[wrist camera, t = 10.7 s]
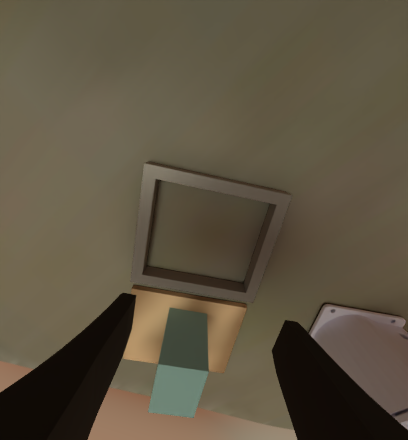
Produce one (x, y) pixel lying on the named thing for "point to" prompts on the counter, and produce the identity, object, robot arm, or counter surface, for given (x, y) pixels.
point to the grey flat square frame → (196, 282)
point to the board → (163, 300)
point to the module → (181, 364)
